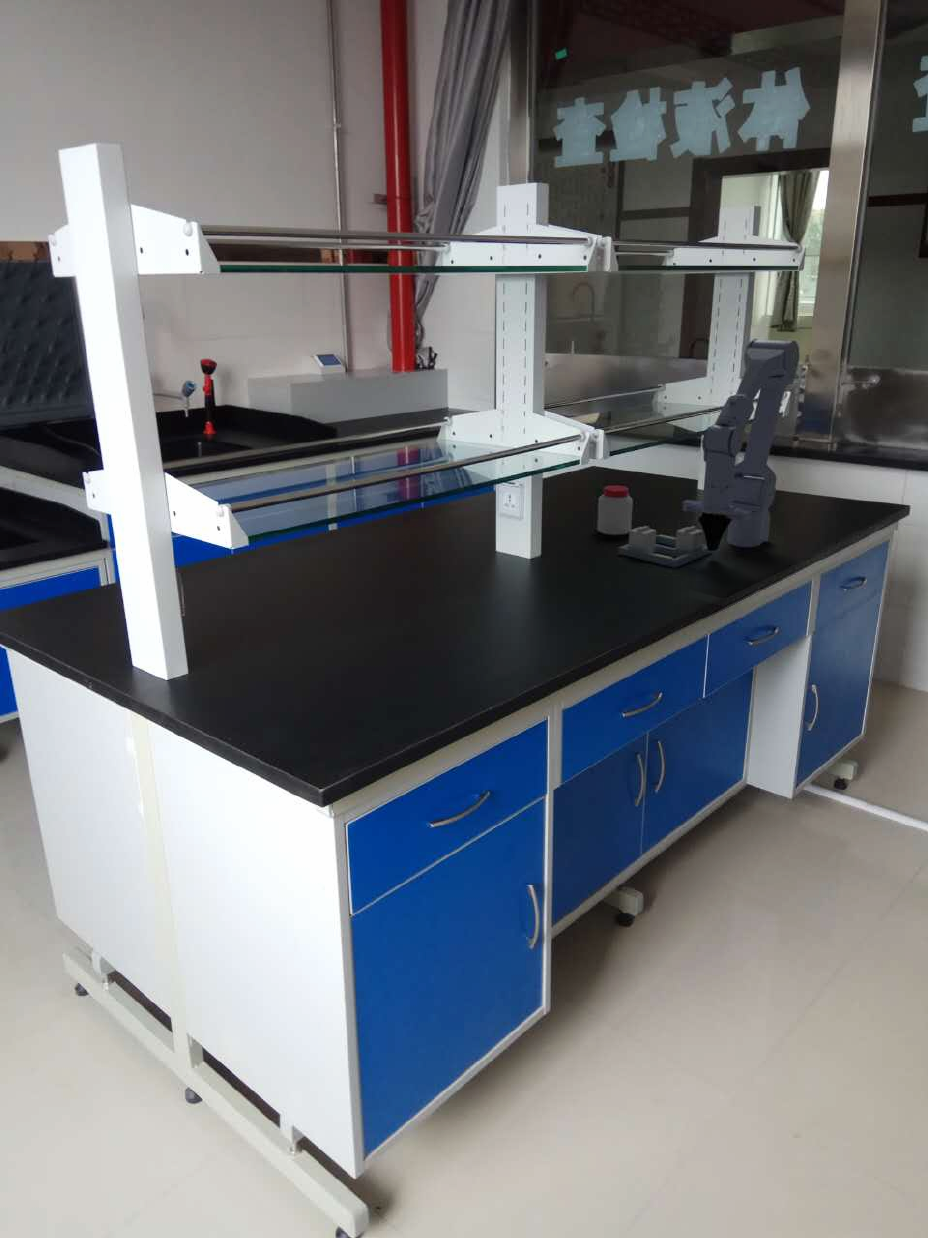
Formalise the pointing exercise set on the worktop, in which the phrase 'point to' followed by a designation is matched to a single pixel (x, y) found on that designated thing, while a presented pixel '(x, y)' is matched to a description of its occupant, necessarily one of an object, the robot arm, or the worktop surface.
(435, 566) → the worktop surface
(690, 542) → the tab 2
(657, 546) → the dark blue tray
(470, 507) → the worktop surface
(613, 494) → the pill bottle
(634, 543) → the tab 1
